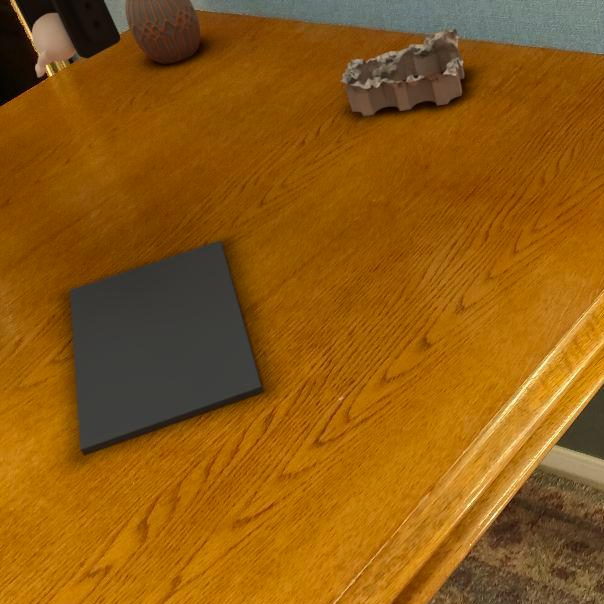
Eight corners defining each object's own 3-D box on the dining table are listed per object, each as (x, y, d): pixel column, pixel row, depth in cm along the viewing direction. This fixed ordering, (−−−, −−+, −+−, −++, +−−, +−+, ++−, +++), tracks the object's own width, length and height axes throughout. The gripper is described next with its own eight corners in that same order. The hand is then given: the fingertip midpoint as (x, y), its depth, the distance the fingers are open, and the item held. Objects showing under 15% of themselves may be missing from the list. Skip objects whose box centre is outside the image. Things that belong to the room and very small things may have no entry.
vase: (154, 78, 103) (114, -12, 97) (139, 57, 108) (100, -30, 101) (217, 55, 105) (182, -35, 98) (199, 36, 109) (165, -52, 103)
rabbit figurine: (14, 76, 70) (62, -21, 71) (71, 108, 72) (117, 13, 73) (17, 44, 65) (69, -60, 66) (79, 80, 67) (128, -22, 68)
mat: (74, 298, 77) (69, 289, 77) (224, 248, 79) (220, 239, 78) (86, 458, 64) (80, 449, 64) (265, 395, 66) (261, 386, 65)
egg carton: (471, 71, 93) (462, 25, 90) (461, 110, 88) (451, 63, 85) (361, 84, 95) (349, 39, 92) (345, 122, 90) (331, 77, 87)
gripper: (-200, -264, 59) (-25, 48, 73) (-70, -265, 51) (101, 88, 64) (-87, -299, 63) (61, 5, 76) (54, -306, 54) (192, 39, 68)
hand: (78, 40), depth 70 cm, fingers closed on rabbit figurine, 4 cm apart
